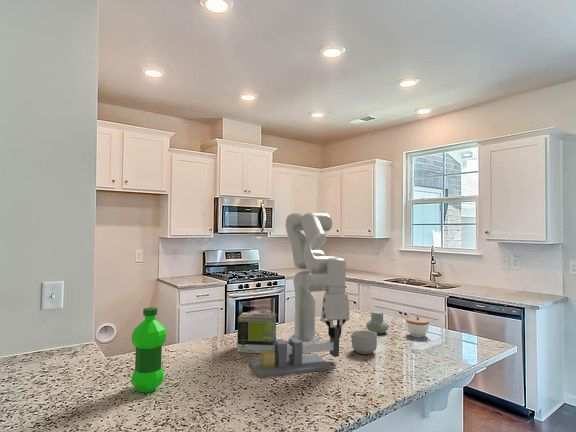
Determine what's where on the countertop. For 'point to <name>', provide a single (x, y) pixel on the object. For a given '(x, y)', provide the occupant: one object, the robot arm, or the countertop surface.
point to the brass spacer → (267, 359)
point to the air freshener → (377, 323)
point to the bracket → (290, 361)
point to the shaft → (319, 345)
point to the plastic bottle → (148, 352)
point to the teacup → (364, 341)
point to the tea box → (256, 332)
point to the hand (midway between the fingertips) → (334, 336)
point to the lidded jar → (417, 326)
